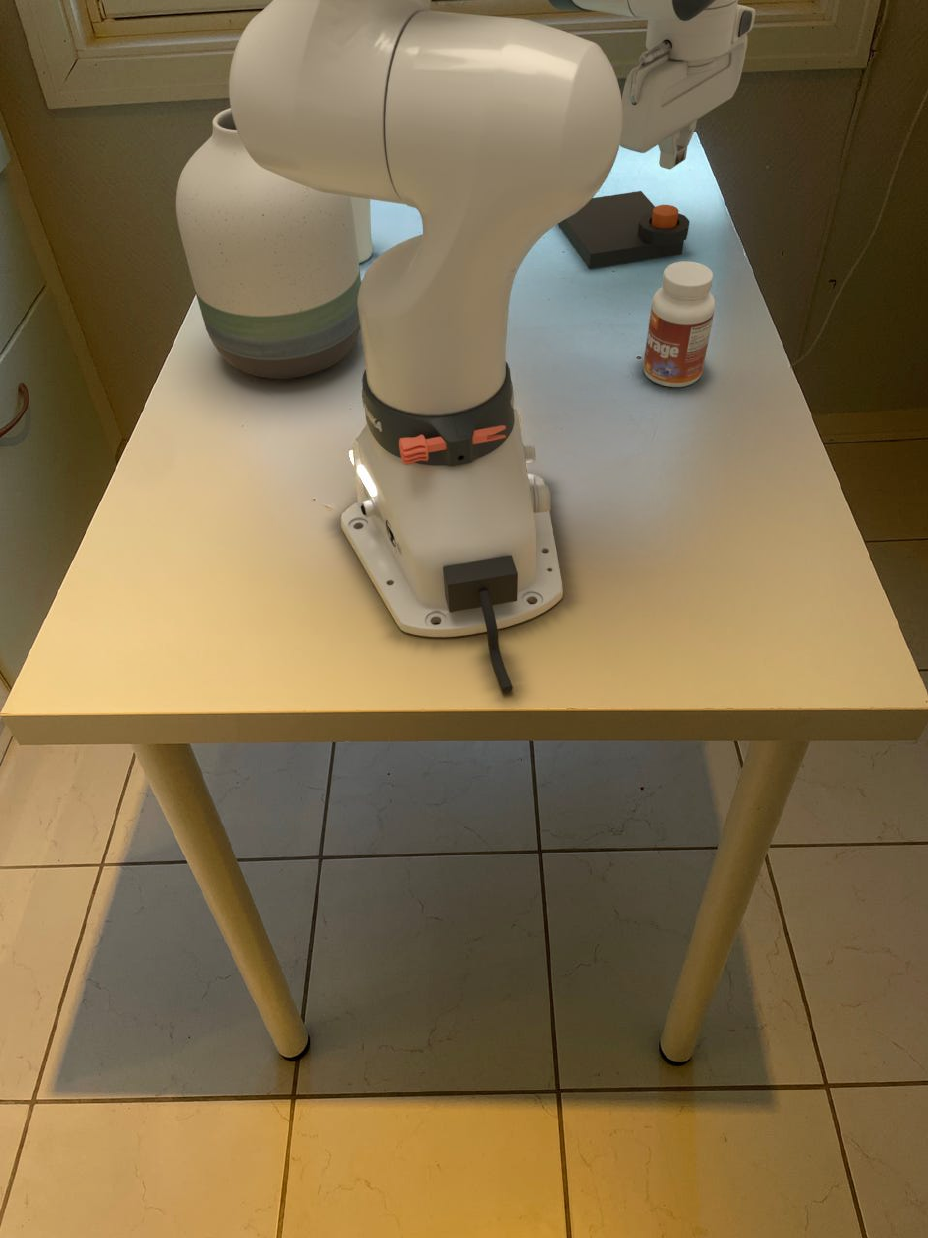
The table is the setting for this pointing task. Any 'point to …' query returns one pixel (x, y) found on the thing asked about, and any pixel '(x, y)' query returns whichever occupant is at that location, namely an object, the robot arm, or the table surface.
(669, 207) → the button
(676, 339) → the pill bottle
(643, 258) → the scale
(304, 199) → the vase
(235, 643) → the table surface
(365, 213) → the drinking glass
